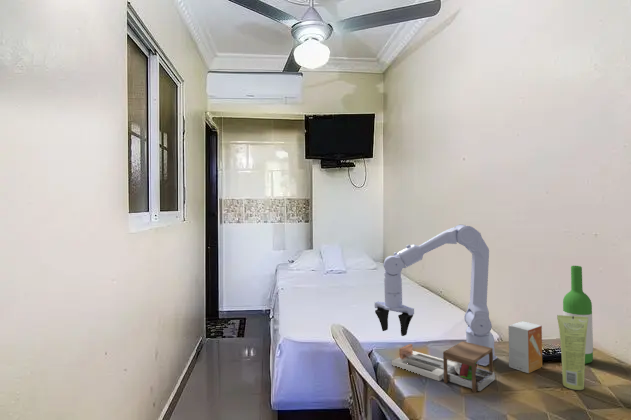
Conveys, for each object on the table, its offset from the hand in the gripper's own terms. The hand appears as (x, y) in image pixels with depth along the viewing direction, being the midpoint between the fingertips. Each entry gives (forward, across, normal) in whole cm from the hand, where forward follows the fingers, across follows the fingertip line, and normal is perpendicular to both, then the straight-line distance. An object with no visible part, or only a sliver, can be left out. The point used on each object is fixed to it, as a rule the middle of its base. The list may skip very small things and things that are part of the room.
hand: (394, 332), depth 132 cm
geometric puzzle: (+9, +26, 0) cm, 27 cm away
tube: (+9, +48, +16) cm, 51 cm away
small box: (+9, +34, +20) cm, 41 cm away
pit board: (+8, +11, 0) cm, 14 cm away
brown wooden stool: (+8, +26, 0) cm, 27 cm away
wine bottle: (+9, +44, +38) cm, 58 cm away
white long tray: (+8, +17, 0) cm, 19 cm away
